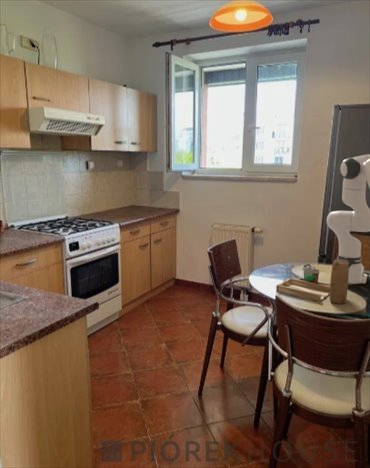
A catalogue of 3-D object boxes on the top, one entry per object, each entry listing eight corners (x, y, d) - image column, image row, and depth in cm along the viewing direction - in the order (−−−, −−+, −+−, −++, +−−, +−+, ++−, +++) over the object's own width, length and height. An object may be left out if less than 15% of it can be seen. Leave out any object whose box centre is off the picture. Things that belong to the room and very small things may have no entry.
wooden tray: (289, 284, 194) (289, 277, 193) (331, 293, 179) (331, 286, 178) (276, 291, 182) (276, 285, 182) (319, 302, 168) (320, 295, 167)
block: (345, 306, 163) (348, 264, 159) (328, 303, 167) (330, 262, 163) (347, 298, 172) (351, 258, 168) (331, 295, 176) (334, 256, 172)
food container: (298, 280, 198) (299, 263, 196) (308, 280, 199) (309, 263, 197) (307, 288, 186) (308, 270, 184) (318, 288, 187) (319, 269, 185)
